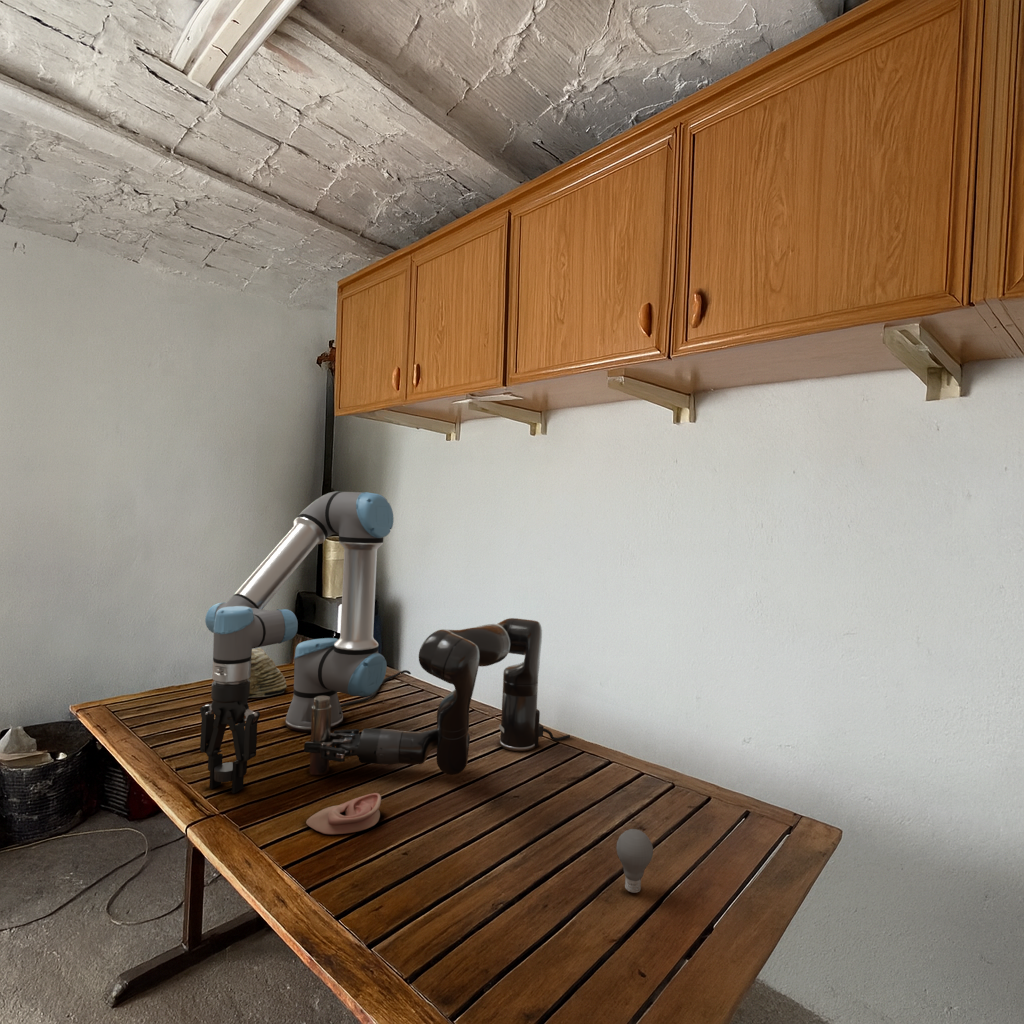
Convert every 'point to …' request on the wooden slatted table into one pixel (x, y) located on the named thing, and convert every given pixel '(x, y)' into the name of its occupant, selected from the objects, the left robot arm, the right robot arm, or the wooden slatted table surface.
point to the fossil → (265, 676)
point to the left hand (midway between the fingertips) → (226, 788)
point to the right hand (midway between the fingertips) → (308, 742)
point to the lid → (223, 772)
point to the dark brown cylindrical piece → (320, 733)
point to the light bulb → (634, 857)
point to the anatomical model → (347, 816)
